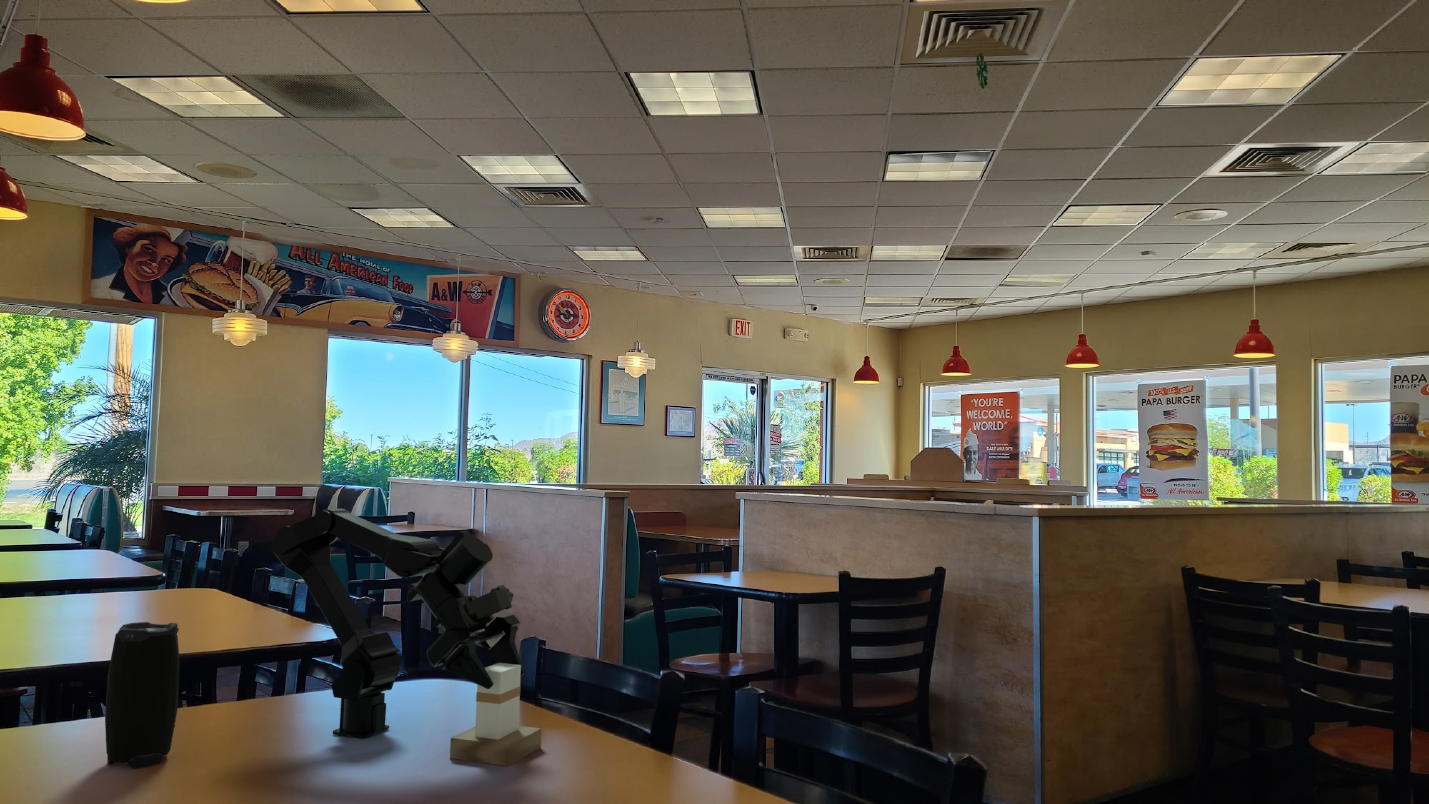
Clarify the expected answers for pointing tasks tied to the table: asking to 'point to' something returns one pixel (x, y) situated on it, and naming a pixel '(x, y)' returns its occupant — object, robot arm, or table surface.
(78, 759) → the table surface
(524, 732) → the base
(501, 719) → the carton
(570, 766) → the table surface
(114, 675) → the portable speaker
